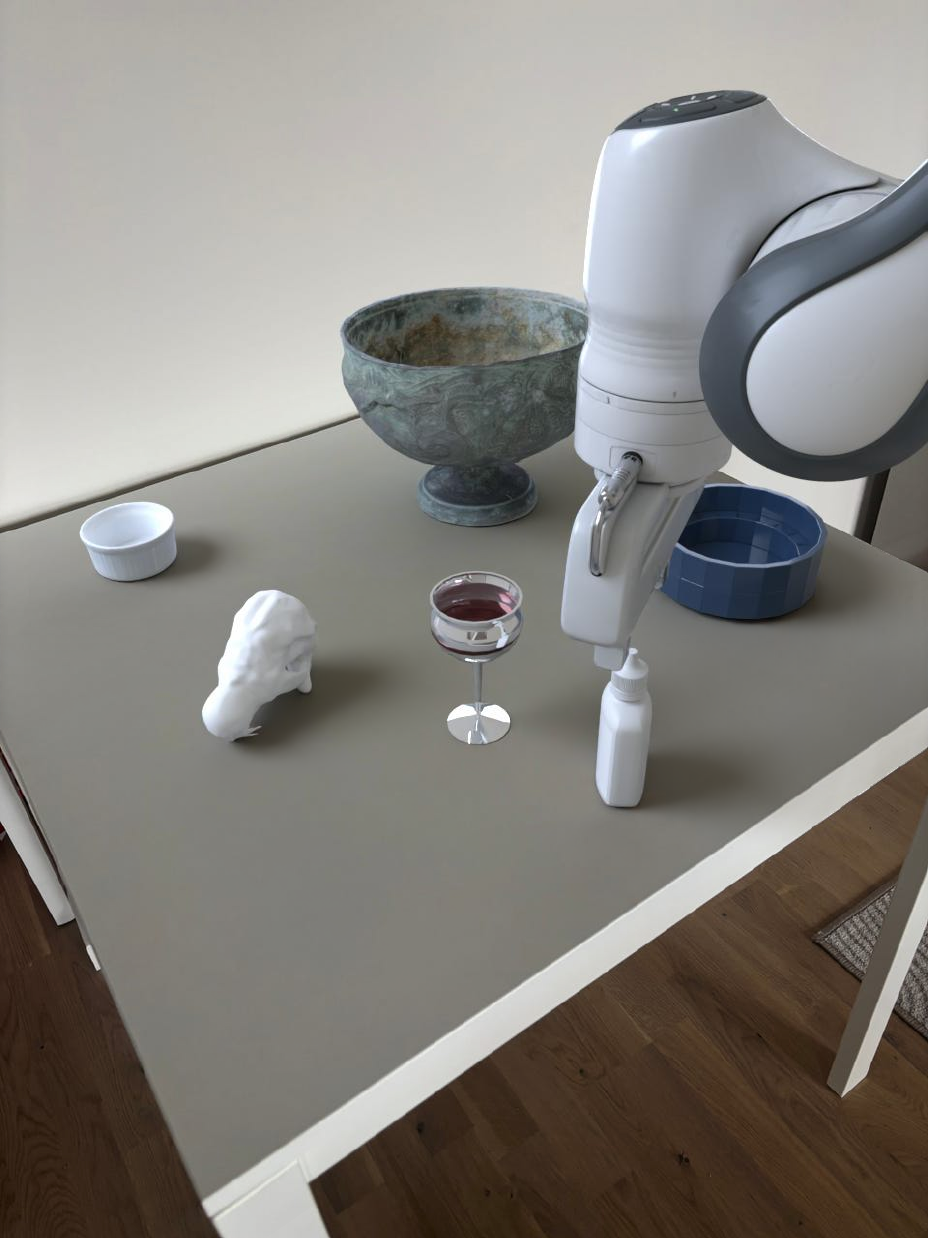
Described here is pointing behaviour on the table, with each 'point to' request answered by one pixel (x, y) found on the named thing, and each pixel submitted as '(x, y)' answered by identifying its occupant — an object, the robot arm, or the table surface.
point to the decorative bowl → (468, 389)
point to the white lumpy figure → (261, 661)
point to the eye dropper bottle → (624, 734)
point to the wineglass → (476, 641)
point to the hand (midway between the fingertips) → (632, 620)
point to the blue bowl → (746, 553)
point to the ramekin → (130, 540)
